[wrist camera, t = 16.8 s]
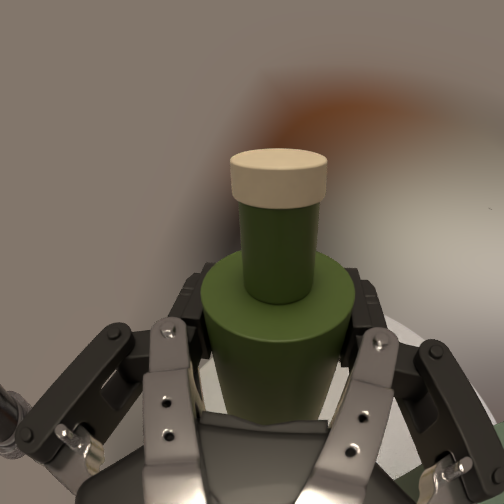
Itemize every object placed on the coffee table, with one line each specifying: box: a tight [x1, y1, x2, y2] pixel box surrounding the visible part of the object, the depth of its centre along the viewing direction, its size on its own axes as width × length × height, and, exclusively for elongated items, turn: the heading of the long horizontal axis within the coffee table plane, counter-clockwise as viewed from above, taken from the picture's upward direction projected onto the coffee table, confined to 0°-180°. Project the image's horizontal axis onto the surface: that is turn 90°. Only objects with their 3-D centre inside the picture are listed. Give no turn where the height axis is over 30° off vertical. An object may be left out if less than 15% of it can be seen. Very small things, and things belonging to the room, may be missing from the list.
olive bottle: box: [200, 149, 355, 425], centre depth 10 cm, size 5×5×13 cm
